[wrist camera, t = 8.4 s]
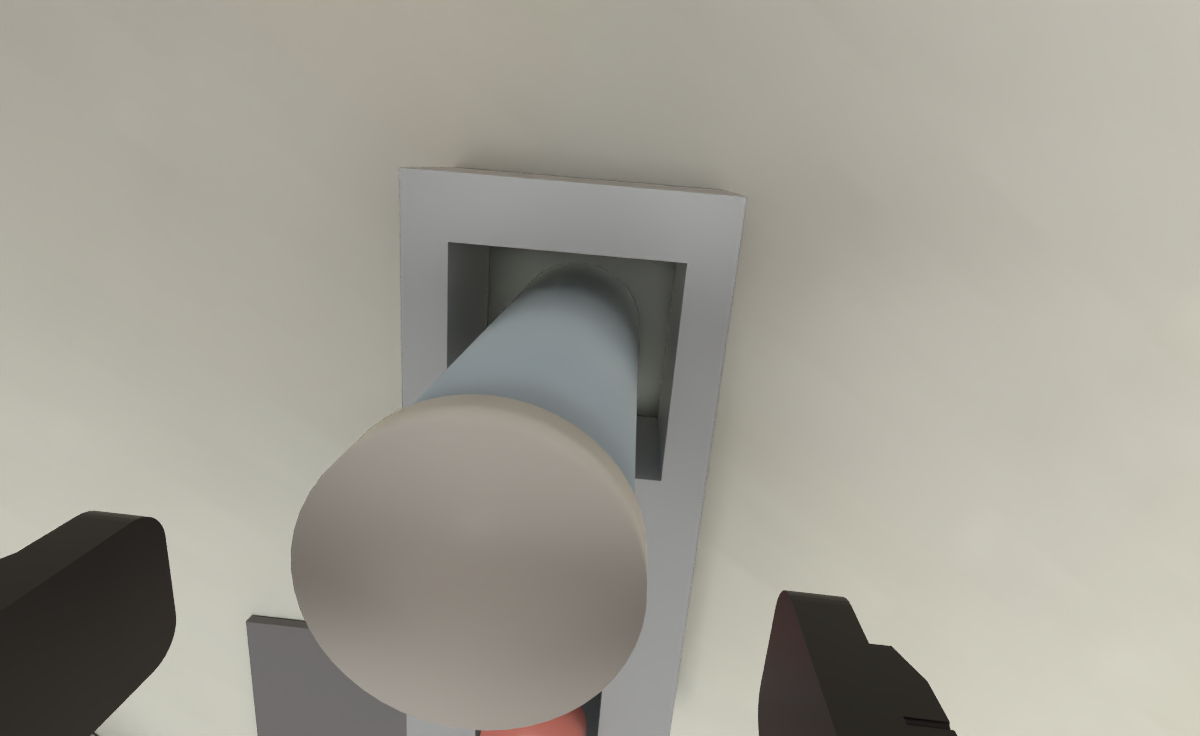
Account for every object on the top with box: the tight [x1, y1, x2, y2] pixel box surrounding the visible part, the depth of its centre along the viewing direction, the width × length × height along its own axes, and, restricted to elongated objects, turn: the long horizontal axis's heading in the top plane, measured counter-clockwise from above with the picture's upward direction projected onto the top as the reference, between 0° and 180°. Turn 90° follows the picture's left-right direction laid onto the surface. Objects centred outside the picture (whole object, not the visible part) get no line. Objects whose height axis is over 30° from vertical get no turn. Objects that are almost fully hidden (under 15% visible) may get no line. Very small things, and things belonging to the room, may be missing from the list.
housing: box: [399, 167, 747, 736], centre depth 22 cm, size 20×9×5 cm, turn 175°
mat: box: [246, 616, 407, 736], centre depth 28 cm, size 8×8×1 cm
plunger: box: [480, 706, 587, 736], centre depth 23 cm, size 3×3×6 cm
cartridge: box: [291, 263, 647, 731], centre depth 16 cm, size 5×5×15 cm
